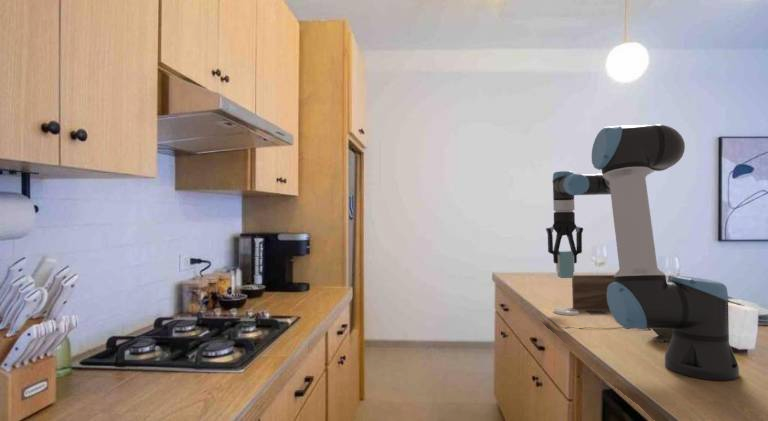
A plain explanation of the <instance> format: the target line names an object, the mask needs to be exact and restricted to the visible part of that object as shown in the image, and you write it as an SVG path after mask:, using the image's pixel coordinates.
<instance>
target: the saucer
mask: <svg viewBox="0 0 768 421" xmlns="http://www.w3.org/2000/svg"><path fill="white" fill-rule="evenodd" d="M553 313H554V314H556V315H560V316H577V315H579V314H580V311H579V310H578V309H574V308H569V307H559V308H558V307H557V308H555V309H553Z"/></svg>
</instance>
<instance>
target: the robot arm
mask: <svg viewBox="0 0 768 421" xmlns="http://www.w3.org/2000/svg"><path fill="white" fill-rule="evenodd" d="M685 148H686V145H685V140H684V137H683V136H682V135H681V134H680V132H678V131H677V130H676V129H675V128H673V127H671V126H668V125H663V124H643V125H641V124H639V125H637V124H636V125H619V124H618V125H614V126H606V127H605V126H604V128H602V129H600V130H599V132H598V133H597V135H596V137H595V139H594V142H593V145H592V149H591V164H592V165H593V168H595V169H596V170H598V171H599V170H600V171H601V173H592V174H591V173H590V174H589V173H588V174H586V173H584V174H582V173H574V172H573V171H571V170H564V171H563V170H560V171H555V172H554V173H553V174H552V194H553V195H552V198H553V211H554V212H553V224H552V226H550V227H546V228H545V231H546V233H547V252H548V253H549V254H552V255H553V263H554V264H555V266H556V268H555V272H557V273H558V272H560V255H558V251H560V246H561V242H562V238H563V236H566V237H567V240H568V244H569V248H570V251H572V252H573V273H575V264H577V262H578V258H577V257H578V254H582V253H583V235H582V234H583V231H584V228H583V227H582V226H577V224H576V221H575V220H576V219H575V218H576V217H575V212H574V211H575V196H592V195H593V196H594V195H596V196H597V195H604V196H605V195H610V199H611V206H612V207H611V208H612V216H613V225H614V234H615V241H616V242H615V243H616V251H617V259H618V261H617V262H618V267H619V269H618V271H617V272H616V273H615V274H613V275H614V282H612V283H611V284H609V285H608V288H607V291H608V292H607V302H608V306H609V309H608V310H609V312H610V313H611V315H612V318H614V320H615V322H616V323H617V324H619V326H621V327H623V328H625V329H636V330H637V329H638V330H652V329H672V338H671V341H670V342H669V344H668V346H667V349H666V352H665V354H664V366H666V368H667V369H669V370H671V371H673V372H676V373H677V374H681V375H684V376H686V377H687V376H688V377H690V378H691V377H692V378H695V379H696V378H697V379H703V380H707V381H732V380H733V381H734V380H735V379H738V378H739V377H740V368H739V365H738V361H737V360H736V357H735V354H734V352H733V349H732V346H731V345H730V328H729V327H730V326H729V324H730V323H729V303H730V299H729V293H728V288H727V286H726V285H725V284H724V283H722V282H720V281H716V280H712V279H711V280H710V279H705V278H700V277H694V276H685V275H671V276H672V277H671V279H670V281H671V282H668V281H667V277H666V274H665V273H664V272H663V271H662V270H660V269H659V268H658V262H657V261H658V260H657V255H656V248H655V240H654V231H653V225H652V217H651V209H650V203H649V195H648V189H647V188H648V187H647V181H646V180H647V179H646V178H647V177H648V176H649V175H651V174H652V173H654V172H661V171H665V170H667V169H669V168H671V167H674V166H675V165H676V164H677V163H679V161H680V160H681V159H682V157H683V155H684V154H685V150H686V149H685ZM554 231H555V233H556V238H555V242H553V241H554V236H553V233H554ZM574 231H575V232H576V233H575V235H576V238H575V239H576V240H575V241H576V244H575V241H574V235H573V232H574Z"/></svg>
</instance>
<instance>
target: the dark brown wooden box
mask: <svg viewBox="0 0 768 421" xmlns="http://www.w3.org/2000/svg"><path fill="white" fill-rule="evenodd" d="M614 275H615V274H573V278H571V287H572V309H575V310H578V309H580V310H582V309H584V310H585V309H587V310H585V312H586V313H587V314H589V315H593V316H594V315H596V316H597V315H599V316H600V315H602V316H603V315H604V316H606V315H607V316H608V315H609V314H608V313H606V312H605V311H603V310H602V309H604V310H605V309H606V310H610V309H609V306H608V302H607V292H608V291H607V288H608V285H609V284H611V283H612V282H614ZM588 309H589V310H588ZM592 309H593V310H592ZM595 309H598V310H595Z"/></svg>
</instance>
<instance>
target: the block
mask: <svg viewBox="0 0 768 421" xmlns="http://www.w3.org/2000/svg"><path fill="white" fill-rule="evenodd" d="M558 255H560V272H557V278H561V279H572V278H573V275H574V272H573V252H572V251H571V250H559V251H558Z"/></svg>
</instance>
